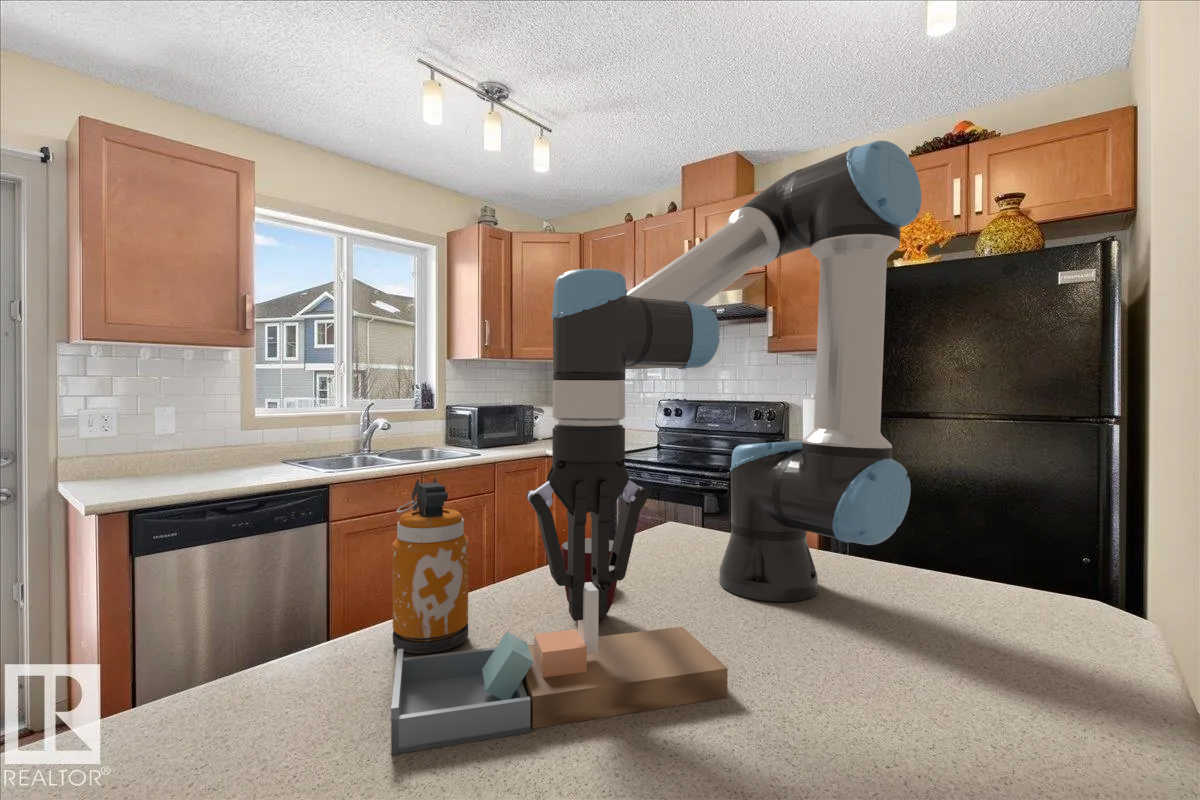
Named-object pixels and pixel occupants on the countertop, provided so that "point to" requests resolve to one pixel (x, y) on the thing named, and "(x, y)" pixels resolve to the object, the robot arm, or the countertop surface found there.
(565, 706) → the tan wooden flat box
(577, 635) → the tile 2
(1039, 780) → the countertop surface
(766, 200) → the robot arm
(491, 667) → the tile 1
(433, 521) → the canister
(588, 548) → the mug
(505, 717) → the box
